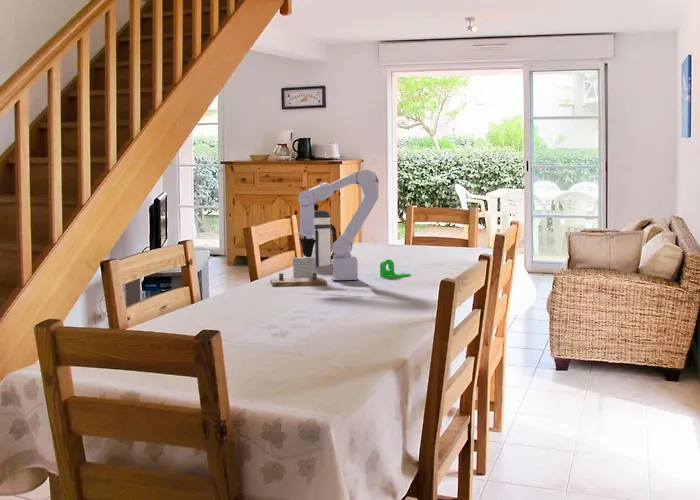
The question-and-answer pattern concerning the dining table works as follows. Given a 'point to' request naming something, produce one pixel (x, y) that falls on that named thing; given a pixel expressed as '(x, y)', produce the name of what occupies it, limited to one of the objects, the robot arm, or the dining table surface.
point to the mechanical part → (390, 270)
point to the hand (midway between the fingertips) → (307, 256)
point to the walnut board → (298, 281)
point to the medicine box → (303, 267)
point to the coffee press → (322, 237)
